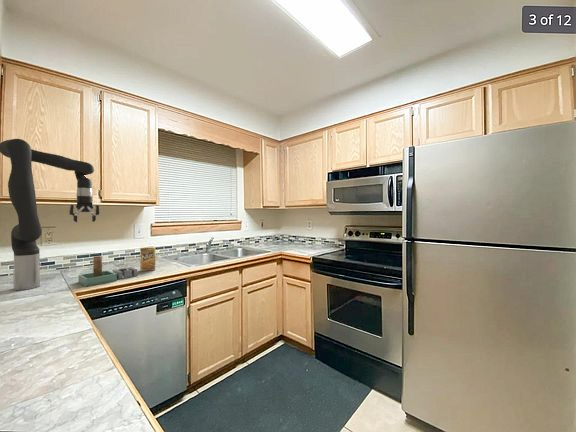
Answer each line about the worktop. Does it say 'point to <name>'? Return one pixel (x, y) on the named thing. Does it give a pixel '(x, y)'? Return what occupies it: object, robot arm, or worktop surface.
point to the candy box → (147, 258)
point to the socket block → (125, 272)
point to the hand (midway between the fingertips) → (84, 221)
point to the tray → (97, 278)
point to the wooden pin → (97, 266)
